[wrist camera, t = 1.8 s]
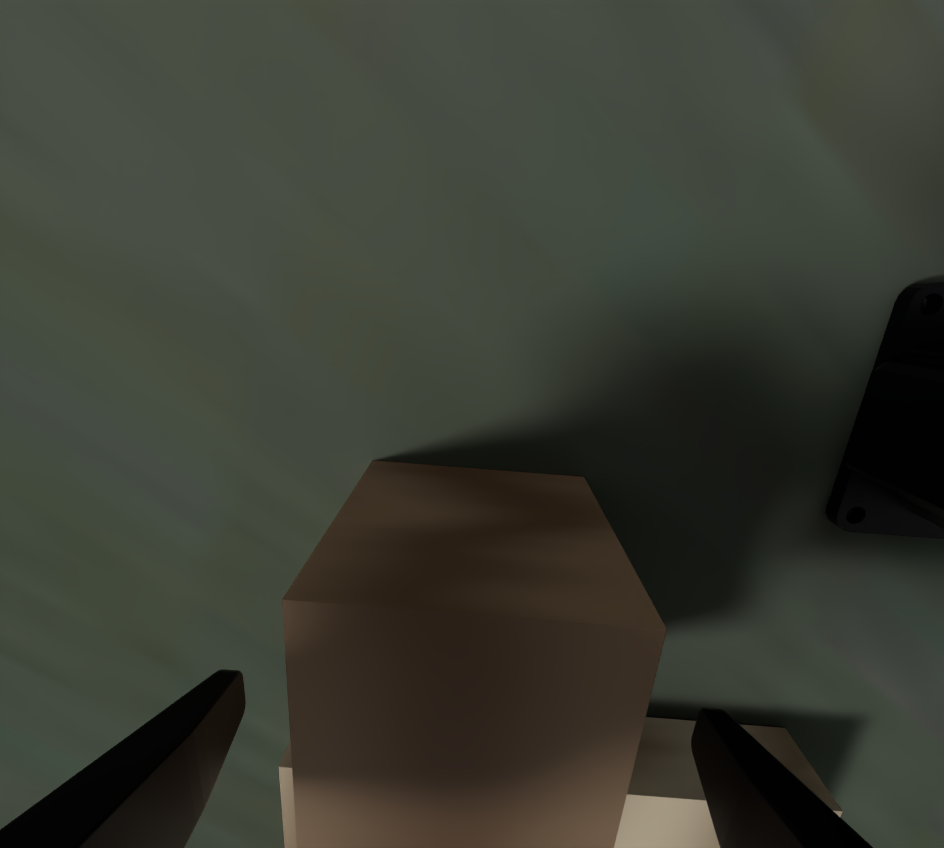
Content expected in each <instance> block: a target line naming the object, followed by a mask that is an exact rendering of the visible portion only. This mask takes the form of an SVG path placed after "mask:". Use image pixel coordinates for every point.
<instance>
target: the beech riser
mask: <svg viewBox="0 0 944 848" xmlns="http://www.w3.org/2000/svg"><path fill="white" fill-rule="evenodd" d="M695 723H696V721H690V720H677V719H664V718H652V717H646V718H645V722H644V726H643V730H642V734H641V738H640V742H639V746H638V751H637V755H636V759H635V763H634V767H633V771H632V775H631V779H630V784H629V788H628V792H627V796H626V800H625V804H624V808H623V812H622V817H621V821H620V825H619V829H618V833H617V837H616V841H615V845H614V848H720V846H719V843H718V839H717V836H716V833H715V829H714V826H713V823H712V819H711V816H710V812H709V809H708V805H707V802H706V799H705V795H704V792H703V788H702V785H701V781H700V778H699V774H698V771H697V767H696V764H695V761H694V757H693V754H692V749H691V738H692V734H693V730H694V727H695ZM740 725H741V724H740ZM741 726H742V727H743V728H744V729H745V730H746V731H747V732H748V733H749V734H750V735H751V736H753V737H754V738H755V739H756V740H757V741H758V742H759V743H760V744H761V745H762V746H763V747H764V748H766V749H767V750H768V751H769V752H770V753H771V754H772V755H773V756H774V757H775V758H776V759H777V760H779V761H780V762H781V763H782V764H783V765H784V766H785V767H786V768H787V769H788V770H789V771H790V772H792V773H793V774H794V775H795V776H796V777H797V778H798V779H799V780H800V781H801V782H802V783H803V784H805V785H806V786H807V787H808V788H809V789H810V790H811V791H812V792H813V793H814V794H815V795H817V796H818V797H819V798H820V799H821V800H822V801H823V802H824V803H825V804H826V805H827V806H828V807H830V808H831V809H832V810H833V811H834V812H835V813H836V814H837V815H838V816H839V817H840V816H841V814H842V812H843V811H842V810H841V808H840V807H839V805H838V804H837V802H836V801H835V800H834V798H833V797H832V795H831V794H830V792H829V791H828V789H827V788H826V786H825V785H824V784H823V782H822V781H821V779H820V778H819V776H818V775H817V773H816V772H815V770H814V769H813V768H812V766H811V765H810V763H809V762H808V760H807V759H806V757H805V756H804V754H803V753H802V752H801V750H800V749H799V747H798V746H797V744H796V743H795V741H794V740H793V739H792V737H791V736H790V734H789V733H788V731H787V730H786V728H779V727H767V726H754V725H741ZM279 776H280V789H281V803H282V816H283V830H284V843H285V848H297V842H296V825H295V808H294V791H293V775H292V758H291V741H290V742H289V744H288V747H287V749H286V751H285V754H284V756H283V758H282V761H281V763H280V765H279Z"/></svg>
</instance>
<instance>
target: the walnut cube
mask: <svg viewBox="0 0 944 848" xmlns="http://www.w3.org/2000/svg"><path fill="white" fill-rule="evenodd" d="M282 606H283V623H284V640H285V657H286V674H287V690H288V707H289V724H290V741H291V758H292V775H293V791H294V808H295V825H296V842H297V848H614V845H615V841H616V837H617V833H618V829H619V825H620V821H621V817H622V812H623V808H624V804H625V800H626V796H627V792H628V788H629V784H630V779H631V775H632V771H633V767H634V763H635V759H636V755H637V751H638V746H639V742H640V738H641V734H642V730H643V726H644V722H645V718H646V714H647V709H648V705H649V701H650V697H651V693H652V689H653V685H654V681H655V676H656V672H657V668H658V664H659V660H660V656H661V652H662V648H663V644H664V639H665V635H666V631H667V629H666V627H665V625H664V623H663V621H662V620H661V618H660V616H659V614H658V612H657V610H656V609H655V607H654V605H653V603H652V601H651V599H650V598H649V596H648V594H647V592H646V590H645V588H644V586H643V585H642V583H641V581H640V579H639V577H638V575H637V574H636V572H635V570H634V568H633V566H632V564H631V563H630V561H629V559H628V557H627V555H626V553H625V551H624V550H623V548H622V546H621V544H620V542H619V540H618V539H617V537H616V535H615V533H614V531H613V529H612V528H611V526H610V524H609V522H608V520H607V518H606V517H605V515H604V513H603V511H602V509H601V507H600V505H599V504H598V502H597V500H596V498H595V496H594V494H593V493H592V491H591V489H590V487H589V485H588V483H587V482H586V480H585V478H584V477H579V476H566V475H553V474H540V473H528V472H515V471H502V470H489V469H476V468H463V467H451V466H438V465H425V464H412V463H399V462H387V461H374V460H373V461H372V462H371V464H370V465H369V467H368V468H367V470H366V471H365V473H364V474H363V476H362V478H361V479H360V481H359V482H358V484H357V485H356V487H355V488H354V490H353V491H352V493H351V494H350V496H349V498H348V499H347V501H346V502H345V504H344V505H343V507H342V508H341V510H340V511H339V513H338V514H337V516H336V518H335V519H334V521H333V522H332V524H331V525H330V527H329V528H328V530H327V531H326V533H325V534H324V536H323V538H322V539H321V541H320V542H319V544H318V545H317V547H316V548H315V550H314V551H313V553H312V554H311V556H310V558H309V559H308V561H307V562H306V564H305V565H304V567H303V568H302V570H301V571H300V573H299V574H298V576H297V578H296V579H295V581H294V582H293V584H292V585H291V587H290V588H289V590H288V591H287V593H286V594H285V596H284V598H283V599H282Z"/></svg>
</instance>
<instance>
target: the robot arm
mask: <svg viewBox="0 0 944 848" xmlns="http://www.w3.org/2000/svg"><path fill="white" fill-rule="evenodd" d="M925 297H926V299H927V302H926V306H925V308H924V309H923V311H920V304H921V302H922V300H923V299H924V298H925ZM852 508H854V509H853V511H852V512H851V513H850V514H849V515H847V516H846V514H847V513H848V511H849V510H850V509H852ZM826 515H827V518H828V519H829V520H830V521H831V522H832V523H834V524H835V525H837V526H838V527H840V528H841V529H843V530H846V531H849V532H861V533H874V534H887V535H900V536H913V537H926V538H939V539H944V283H940V282H936V283H917V284H913V285H911V286H909V287H907V288H906V289H905V290H903V291H902V292H901V293H900V294H899V296H898V298H897V300H896V302H895V304H894V307H893V310H892V313H891V316H890V319H889V322H888V325H887V328H886V331H885V334H884V337H883V340H882V343H881V346H880V349H879V352H878V355H877V358H876V361H875V364H874V367H873V370H872V372H871V375H870V378H869V381H868V384H867V387H866V390H865V393H864V396H863V399H862V402H861V405H860V408H859V411H858V414H857V417H856V420H855V423H854V426H853V429H852V432H851V435H850V438H849V441H848V444H847V447H846V450H845V453H844V456H843V459H842V462H841V465H840V468H839V471H838V474H837V477H836V480H835V483H834V486H833V489H832V492H831V495H830V498H829V501H828V504H827V507H826ZM244 710H245V691H244V681H243V675H242V673H241V672H240V671H238V670H225V669H223V670H219V671H217V672H215V673H214V674H212V675H211V676H210V677H208V678H207V679H206V680H204V681H203V682H202V683H200V684H199V685H197V686H196V687H195V688H193V689H192V690H191V691H189V692H188V693H186V694H185V695H184V696H182V697H181V698H180V699H178V700H177V701H176V702H174V703H173V704H171V705H170V706H169V707H167V708H166V709H165V710H163V711H162V712H161V713H159V714H158V715H156V716H155V717H154V718H152V719H151V720H150V721H148V722H147V723H145V724H144V725H143V726H141V727H140V728H139V729H137V730H136V731H135V732H133V733H132V734H130V735H129V736H128V737H126V738H125V739H124V740H122V741H121V742H119V743H118V744H117V745H115V746H114V747H113V748H111V749H110V750H109V751H107V752H106V753H104V754H103V755H102V756H100V757H99V758H98V759H96V760H95V761H94V762H92V763H91V764H89V765H88V766H87V767H85V768H84V769H83V770H81V771H80V772H78V773H77V774H76V775H74V776H73V777H72V778H70V779H69V780H68V781H66V782H65V783H63V784H62V785H61V786H59V787H58V788H57V789H55V790H54V791H53V792H51V793H50V794H48V795H47V796H46V797H44V798H43V799H42V800H40V801H39V802H37V803H36V804H35V805H33V806H32V807H31V808H29V809H28V810H27V811H25V812H24V813H22V814H21V815H20V816H18V817H17V818H16V819H14V820H13V821H11V822H10V823H9V824H7V825H6V826H5V827H3V828H2V829H1V830H0V848H184V847H185V845H186V843H187V842H188V840H189V838H190V836H191V834H192V832H193V830H194V828H195V826H196V824H197V822H198V820H199V818H200V816H201V814H202V812H203V810H204V808H205V806H206V803H207V801H208V799H209V796H210V794H211V792H212V789H213V787H214V785H215V782H216V780H217V777H218V775H219V773H220V770H221V768H222V765H223V763H224V760H225V758H226V756H227V753H228V751H229V748H230V746H231V744H232V741H233V739H234V736H235V734H236V731H237V729H238V727H239V724H240V722H241V719H242V717H243V714H244ZM691 749H692V754H693V757H694V761H695V764H696V767H697V771H698V774H699V778H700V781H701V785H702V788H703V792H704V795H705V799H706V802H707V805H708V809H709V812H710V816H711V819H712V823H713V826H714V829H715V833H716V836H717V839H718V843H719V846H720V848H873V847H872V846H871V845H870V844H869V843H867V842H866V841H865V840H864V839H863V838H862V837H861V836H860V835H859V834H858V833H857V832H856V831H854V830H853V829H852V828H851V827H850V826H849V825H848V824H847V823H846V822H845V821H844V820H843V819H841V818H840V817H839V816H838V815H837V814H836V813H835V812H834V811H833V810H832V809H831V808H830V807H828V806H827V805H826V804H825V803H824V802H823V801H822V800H821V799H820V798H819V797H818V796H817V795H815V794H814V793H813V792H812V791H811V790H810V789H809V788H808V787H807V786H806V785H805V784H803V783H802V782H801V781H800V780H799V779H798V778H797V777H796V776H795V775H794V774H793V773H792V772H790V771H789V770H788V769H787V768H786V767H785V766H784V765H783V764H782V763H781V762H780V761H779V760H777V759H776V758H775V757H774V756H773V755H772V754H771V753H770V752H769V751H768V750H767V749H766V748H764V747H763V746H762V745H761V744H760V743H759V742H758V741H757V740H756V739H755V738H754V737H753V736H751V735H750V734H749V733H748V732H747V731H746V730H745V729H744V728H743V727H742V726H741V725H740V724H738V723H737V722H736V721H735V720H734V719H733V718H732V717H731V716H730V715H729V714H727V713H726V712H725V711H723V710H720V709H710V708H702V709H701V710H700V711H699V713H698V716H697V720H696V723H695V727H694V730H693V734H692V738H691Z"/></svg>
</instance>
